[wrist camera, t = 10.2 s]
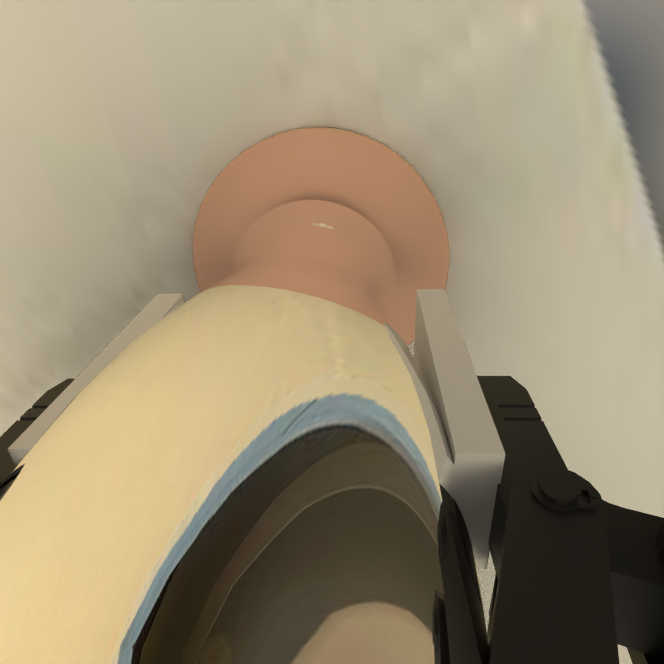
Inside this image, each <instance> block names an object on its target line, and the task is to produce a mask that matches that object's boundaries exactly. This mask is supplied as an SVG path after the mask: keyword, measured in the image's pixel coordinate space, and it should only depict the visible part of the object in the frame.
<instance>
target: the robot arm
mask: <svg viewBox="0 0 664 664" xmlns="http://www.w3.org/2000/svg"><path fill="white" fill-rule="evenodd" d="M183 303H185V300H184V296H183V293H172V294H157V295H156V296H155V297H154V298H153V299H152V300H151V301H150V302H149V303H148V304H147V305H146V306H145V307H144V308H143V309H142V310H141V311H140V312H139V313H138V314H137V315H136V317H135V318H134V319H133V320H132V321H131V322H130V323H129V324H128V325H127V326H126V327H125V328H124V329H123V330H122V331H121V332H120V333H119V334H118V335H117V336H116V337H115V338H114V339H113V340H112V341H111V342H110V343H109V344H108V345H107V347H106V348H105V349H104V350H103V351H102V352H101V353H100V354H99V355H98V356H97V357H96V358H95V359H94V360H93V361H92V362H91V363H90V364H89V365H88V366H87V367H86V368H85V369H84V370H83V371H82V372H81V373H80V374H79V375H78V377H77V378H76V379H67V380H65V381H63V382H62V383H60V384H58V385H57V386H55V387H53V388H52V389H50V390H48V391H47V392H46V393H45V394H44V395H43V396H42V397H41V398H40V399H39V400H38V401H37V402H36V403H35V404H34V405H33V407H32V409H30V408H29V409H28V410H27V411H26V412H25V413H24V414H23V415H22V416H21V417H20V421H16V422H15V423H14V424H13V425H12V426H11V427H10V428H9V429H8V430H7V431H6V432H5V433H4V434H3V435H2V436H1V437H0V485H1V484H2V483H3V481H4V480H5V479H6V478H7V476H8V475H9V474H10V472H11V471H12V470H13V469H14V468H15V466H16V465H17V464H18V463H19V462H20V461H21V459H22V458H23V457H24V456H25V455H26V453H27V452H28V451H29V450H30V449H31V448H32V446H33V445H34V444H35V443H36V442H37V440H38V439H39V438H40V437H41V436H42V434H43V433H44V432H45V431H46V430H47V429H48V427H49V426H50V425H51V424H52V423H53V421H54V420H55V419H56V418H57V417H58V416H59V414H60V413H61V412H62V411H63V410H64V408H65V407H66V406H67V405H68V404H69V403H70V402H71V401H72V400H73V399H74V398H75V397H76V396H77V395H78V394H79V393H80V392H81V391H82V390H83V389H84V388H85V387H86V386H87V385H88V384H89V383H90V382H91V381H92V380H93V379H94V378H95V377H96V376H97V375H98V374H99V372H100V371H101V370H102V369H103V368H104V367H105V366H106V365H107V364H108V363H109V362H110V361H111V360H112V359H113V358H114V357H115V356H116V355H117V354H118V353H119V352H120V351H122V350H123V349H124V348H125V347H126V346H127V345H129V344H130V343H131V342H132V341H134V340H135V339H136V338H138V337H139V336H140V335H141V334H143V333H144V332H145V331H147V330H148V329H149V328H150V327H152V326H153V325H154V324H156V323H157V322H158V321H160V320H161V319H162V318H163V317H165V316H166V315H167V314H169V313H170V312H171V311H173V310H174V309H176V308H177V307H179V306H180V305H182V304H183ZM414 360H415V362H416V364H417V366H418V368H419V370H420V372H421V374H422V376H423V378H424V381H425V383H426V386H427V388H428V390H429V393H430V395H431V398H432V400H433V402H434V405H435V407H436V409H437V412H438V414H439V417H440V419H441V421H442V424H443V426H444V429H445V433H446V436H447V440H448V444H449V447H450V451H451V455H452V459H453V462H454V466H455V469H456V473H457V476H458V480H459V483H460V487H461V491H462V494H463V498H464V503H465V508H466V514H467V519H468V524H469V529H470V535H471V540H472V545H473V550H474V556H475V561H476V566H477V568H481V569H487V564H488V558H489V552H491V556H492V559H493V563H494V567H495V571H496V576H495V582H494V587H493V593H492V599H491V604H490V610H489V615H490V617H489V624H488V631H487V639H488V645H489V664H619V656H618V646H617V644H619V645H622V646H625V647H627V649H628V652H629V655H630V657H631V660H632V663H633V664H664V518H662V517H658V516H654V515H650V514H646V513H642V512H638V511H634V510H630V509H626V508H622V507H619V506H616V505H613V504H610V503H608V502H606V501H604V500H602V498H601V496H600V494H599V492H598V491H597V490H596V489H595V488H594V487H593V486H592V485H591V484H590V482H588V481H587V480H585V479H584V478H582V477H581V476H579V475H577V474H576V473H574V472H572V471H569V470H568V469H567V467H566V465H565V463H564V461H563V459H562V457H561V455H560V454H559V452H558V450H557V448H556V446H555V444H554V442H553V440H552V438H551V436H550V434H549V432H548V430H547V428H546V426H545V424H544V422H543V421H541V417H540V415H539V413H538V411H537V409H536V408H535V407H534V403H533V401H532V399H531V397H530V395H529V393H528V391H527V389H525V388H524V387H523V386H522V385H521V384H519V383H518V382H517V381H516V380H514V379H513V378H512V377H511V376H476V373H475V370H474V367H473V365H472V362H471V359H470V357H469V354H468V351H467V349H466V346H465V343H464V340H463V338H462V335H461V332H460V330H459V327H458V324H457V322H456V319H455V316H454V313H453V311H452V308H451V305H450V303H449V300H448V297H447V295H446V292H445V289H417V294H416V319H415V343H414Z"/></svg>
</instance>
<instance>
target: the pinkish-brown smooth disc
mask: <svg viewBox="0 0 664 664" xmlns="http://www.w3.org/2000/svg"><path fill="white" fill-rule="evenodd" d="M299 200H323V201H329V202H333V203H337V204H340V205H343V206H345V207H348V208H350V209H352V210H354V211H355V212H357V213H359V214H360V215H362V216H363V217H365V218H366V219H367V220H368V221H370V222H371V223H372V224H373V225H374V226H375V227H376V228H377V229H378V230H379V231H380V233H381V234H382V235H383V237H384V238H385V240H386V241H387V243H388V245H389V246H390V248H391V251H392V253H393V255H394V258H395V262H396V266H397V271H398V295H397V300H396V304H395V307H394V310H393V313H392V316H391V317H392V320H393V322H394V324H395V325H396V327H397V329H398V331H399V332H400V334H401V336H402V338H403V340H404V341H405V343H406V345H407V346H408V345H409V344H410V343H411V342H412V341H413V340H414V339H415V319H416V294H417V289H445V286H446V282H447V276H448V269H449V244H448V237H447V231H446V227H445V224H444V220H443V217H442V214H441V212H440V210H439V208H438V205H437V203H436V201H435V199H434V197H433V195H432V193H431V192H430V190H429V189H428V187H427V185H426V184H425V182H424V181H423V179H422V178H421V177H420V176H419V174H418V173H417V172H416V171H415V170H414V168H413V167H412V166H411V165H410V164H409V163H408V162H407V161H405V160H404V159H403V158H402V157H401V156H400V155H399V154H397V153H396V152H394V151H393V150H391V149H390V148H388V147H387V146H385V145H384V144H382V143H380V142H378V141H376V140H374V139H372V138H370V137H368V136H365V135H362V134H359V133H356V132H353V131H349V130H343V129H338V128H331V127H309V128H301V129H294V130H290V131H287V132H283V133H279V134H277V135H274V136H272V137H270V138H267V139H265V140H263V141H261V142H259V143H258V144H256V145H254V146H253V147H251V148H249V149H248V150H246V151H245V152H243V153H241V154H240V155H239V156H238V157H237V158H235V159H234V160H233V161H232V162H231V163H229V164H228V165H227V166H226V168H225V169H224V170H223V171H222V172H221V173H220V174H219V175H218V177H217V178H216V179H215V181H214V182H213V184H212V185H211V187H210V188H209V190H208V191H207V193H206V196H205V198H204V200H203V202H202V204H201V206H200V209H199V213H198V216H197V219H196V223H195V229H194V236H193V260H194V268H195V273H196V277H197V281H198V285H199V288H200V290H201V292H202V291H204V290H205V289H207V288H209V287H210V286H212V285H213V284H215V283H217V282H218V281H220V280H222V279H223V278H225V277H226V276H228V271H229V266H230V262H231V258H232V255H233V252H234V250H235V247H236V245H237V243H238V241H239V240H240V238H241V236H242V235H243V233H244V232H245V231H246V229H247V228H248V227H249V226H250V225H251V224H252V223H253V222H254V221H255V220H256V219H258V218H259V217H260V216H262V215H263V214H264V213H266V212H268V211H269V210H271V209H273V208H275V207H278V206H280V205H283V204H286V203H289V202H294V201H299Z"/></svg>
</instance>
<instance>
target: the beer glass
mask: <svg viewBox="0 0 664 664" xmlns="http://www.w3.org/2000/svg"><path fill="white" fill-rule="evenodd" d="M397 295H398V271H397V266H396V262H395V258H394V255H393V253H392V251H391V248H390V246H389V245H388V243H387V241H386V240H385V238H384V237H383V235H382V234H381V233H380V231H379V230H378V229H377V228H376V227H375V226H374V225H373V224H372V223H371V222H370V221H368V220H367V219H366V218H365V217H363V216H362V215H360V214H359V213H357V212H355V211H354V210H352V209H350V208H348V207H345V206H343V205H340V204H337V203H333V202H329V201H323V200H299V201H294V202H289V203H286V204H283V205H280V206H278V207H275V208H273V209H271V210H269V211H268V212H266V213H264V214H263V215H262V216H260V217H259V218H258V219H256V220H255V221H254V222H253V223H252V224H251V225H250V226H249V227H248V228H247V229H246V231H245V232H244V233H243V235H242V236H241V238H240V240H239V241H238V243H237V245H236V247H235V250H234V252H233V255H232V258H231V262H230V266H229V271H228V276H226V277H225V278H223V279H222V280H220V281H218V282H217V283H215V284H213V285H212V286H210V287H209V288H207V289H205V290H204V291H202V292H200V293H199V294H197V295H196V296H194V297H193V298H191V299H190V300H188V301H187V302H185V303H183V304H182V305H180V306H179V307H177V308H176V309H174V310H173V311H171V312H170V313H169V314H167V315H166V316H165V317H163V318H162V319H161V320H160V321H158V322H157V323H156V324H154V325H153V326H152V327H150V328H149V329H148V330H147V331H145V332H144V333H143V334H141V335H140V336H139V337H138V338H136V339H135V340H134V341H132V342H131V343H130V344H129V345H127V346H126V347H125V348H124V349H123V350H122V351H120V352H119V353H118V354H117V355H116V356H115V357H114V358H113V359H112V360H111V361H110V362H109V363H108V364H107V365H106V366H105V367H104V368H103V369H102V370H101V371H100V372H99V374H98V375H97V376H96V377H95V378H94V379H93V380H92V381H91V382H90V383H89V384H88V385H87V386H86V387H85V388H84V389H83V390H82V391H81V392H80V393H79V394H78V395H77V396H76V397H75V398H74V399H73V400H72V401H71V402H70V403H69V404H68V405H67V406H66V407H65V408H64V410H63V411H62V412H61V413H60V414H59V416H58V417H57V418H56V419H55V420H54V421H53V423H52V424H51V425H50V426H49V427H48V429H47V430H46V431H45V432H44V433H43V434H42V436H41V437H40V438H39V439H38V440H37V442H36V443H35V444H34V445H33V446H32V448H31V449H30V450H29V451H28V452H27V453H26V455H25V456H24V457H23V458H22V459H21V461H20V462H19V463H18V464H17V465H16V466H15V468H14V469H13V470H12V471H11V472H10V474H9V475H8V476H7V478H6V479H5V480H4V481H3V483H2V484H1V485H0V664H489V645H488V639H487V632H486V625H485V618H484V611H483V604H482V597H481V590H480V583H479V577H478V571H477V566H476V561H475V556H474V550H473V545H472V540H471V535H470V529H469V524H468V519H467V514H466V508H465V503H464V498H463V494H462V491H461V487H460V483H459V480H458V476H457V473H456V469H455V466H454V462H453V459H452V455H451V451H450V447H449V444H448V440H447V436H446V433H445V429H444V426H443V424H442V421H441V419H440V417H439V414H438V412H437V409H436V407H435V405H434V402H433V400H432V398H431V395H430V393H429V390H428V388H427V386H426V383H425V381H424V378H423V376H422V374H421V372H420V370H419V368H418V366H417V364H416V362H415V360H414V359H413V357H412V355H411V353H410V351H409V349H408V347H407V345H406V343H405V341H404V340H403V338H402V336H401V334H400V332H399V331H398V329H397V327H396V325H395V324H394V322H393V320H392V317H391V316H392V313H393V310H394V307H395V304H396V300H397Z"/></svg>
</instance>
